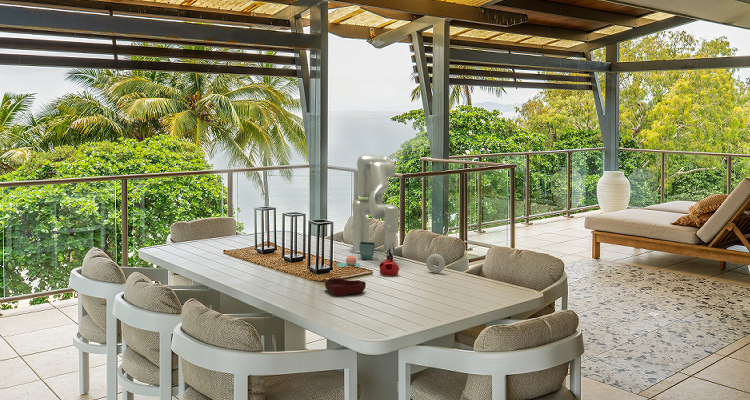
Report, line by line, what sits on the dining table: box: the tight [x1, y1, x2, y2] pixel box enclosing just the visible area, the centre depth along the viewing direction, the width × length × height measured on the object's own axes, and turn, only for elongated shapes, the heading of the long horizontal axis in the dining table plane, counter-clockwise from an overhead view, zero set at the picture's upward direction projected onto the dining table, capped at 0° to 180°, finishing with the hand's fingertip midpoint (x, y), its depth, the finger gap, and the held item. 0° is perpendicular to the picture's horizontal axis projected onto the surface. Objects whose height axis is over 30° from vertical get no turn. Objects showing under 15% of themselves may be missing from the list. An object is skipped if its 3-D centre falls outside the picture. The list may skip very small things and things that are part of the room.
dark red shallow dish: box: [324, 277, 367, 297], centre depth 292 cm, size 18×16×5 cm
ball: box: [345, 255, 357, 266], centre depth 353 cm, size 6×6×6 cm
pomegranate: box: [378, 257, 400, 277], centre depth 333 cm, size 10×10×9 cm
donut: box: [425, 253, 446, 274], centre depth 341 cm, size 10×4×10 cm, turn 69°
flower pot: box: [359, 241, 376, 261], centre depth 373 cm, size 9×9×9 cm
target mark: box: [336, 262, 362, 269], centre depth 353 cm, size 12×12×1 cm
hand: (389, 263), depth 356 cm, fingers closed
